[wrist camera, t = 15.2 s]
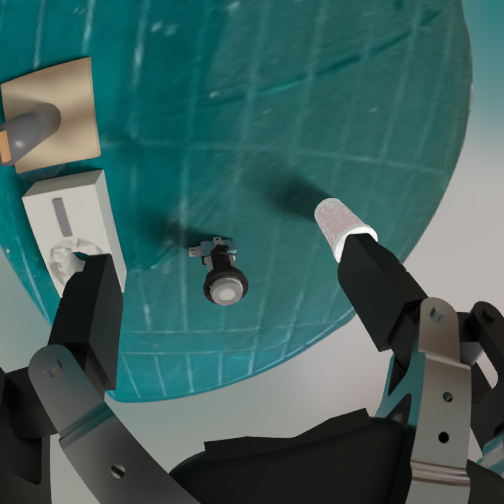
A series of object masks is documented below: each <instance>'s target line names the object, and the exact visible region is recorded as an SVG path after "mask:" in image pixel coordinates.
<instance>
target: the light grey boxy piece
mask: <svg viewBox="0 0 504 504" xmlns="http://www.w3.org/2000/svg"><path fill="white" fill-rule="evenodd" d="M22 200H23V203H24V207H25V210H26V213H27V216H28V219H29V222H30V225H31V227H32V230H33V233H34V236H35V238H36V241H37V244H38V246H39V249H40V252H41V254H42V257H43V259H44V261H45V264H46V266H47V269H48V271H49V273H50V276H51V278H52V280H53V282H54V285H55V287H56V289H57V291H58V293H59V295H60V297H62V294H63V291H64V288H65V285H66V282H67V281H68V280H69V279H70V278H71V276H72V275H73V274H74V273H75V272H79V271H83V268H84V265H85V262H86V261H83V260H81V259H79V258H78V257H77V256H76V255H74V254H73V252H78V251H79V252H82V253H85V254H88V255H95V254H106V253H110V254H111V255H112V258H113V261H114V265H115V269H116V272H117V276H118V279H119V283H120V286H121V290H122V293H124V286H125V279H126V273H127V271H126V267H125V263H124V260H123V256H122V252H121V248H120V244H119V240H118V236H117V232H116V228H115V224H114V219H113V215H112V210H111V206H110V201H109V196H108V191H107V186H106V181H105V176H104V170H103V169H102V170H96V171H90V172H84V173H78V174H73V175H67V176H62V177H57V178H52V179H47V180H42V181H38V182H35V183H34V184H33V185H32V186H31V188H30V189H29V190H28V191H27V192H26V193H25V195H24V196H23V197H22Z"/></svg>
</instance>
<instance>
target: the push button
mask: <svg viewBox="0 0 504 504" xmlns="http://www.w3.org/2000/svg"><path fill="white" fill-rule="evenodd" d="M216 239H219V240H216ZM191 249H194V251H191ZM192 253H194V255H192ZM189 256H190V257H192V256H197V257H202V264H203V265H207V267H208V274H207V276H206V281H205V283H204V288H203V289H204V294H205V296H206V298H207V299H208V300H209V301H211V302H213V303H215V304H220V305H231V304H234V303H236V302H237V301H239V300H240V299H241V298H243V297H244V295H245V294H246V293H247V290H248V282H247V279H246V277H245V276H244V275H243V273H242V271H240V270H238V269H237V268H236V265H235V262H236V246H235V242H234V240H233V239H229V240H221V237H214V238H213V241H202V242H201V246H197V247H194V248H189ZM229 265H230V266H229ZM239 279H240V280H241V282H240V281H239ZM209 286H211V289H210V288H209Z"/></svg>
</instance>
